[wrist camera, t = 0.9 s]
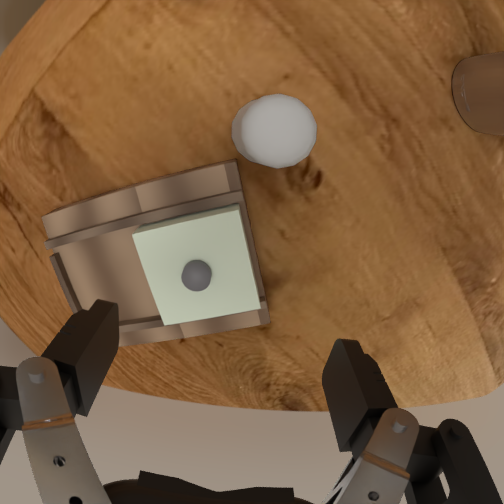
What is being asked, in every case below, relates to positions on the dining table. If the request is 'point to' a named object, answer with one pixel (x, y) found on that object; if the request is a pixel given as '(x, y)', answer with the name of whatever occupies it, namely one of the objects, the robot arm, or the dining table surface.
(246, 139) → the salt shaker
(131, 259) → the board
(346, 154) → the dining table surface
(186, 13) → the dining table surface
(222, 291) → the cover
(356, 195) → the dining table surface
